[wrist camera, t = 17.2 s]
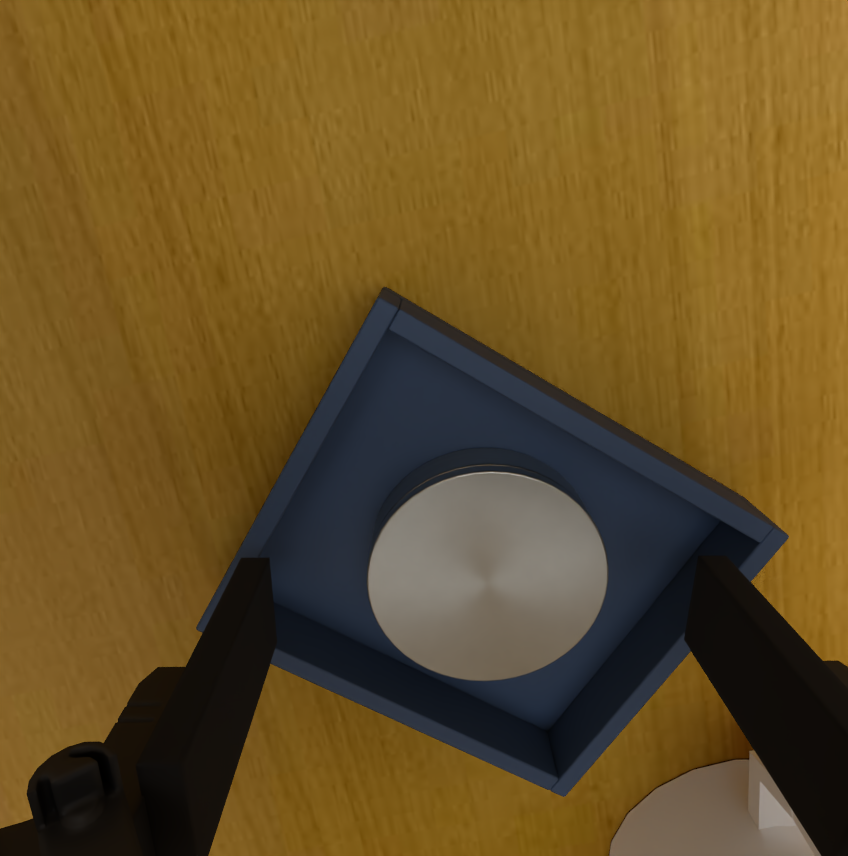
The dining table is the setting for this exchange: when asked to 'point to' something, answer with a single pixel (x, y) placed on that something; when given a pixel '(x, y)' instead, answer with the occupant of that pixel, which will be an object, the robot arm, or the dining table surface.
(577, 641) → the lid
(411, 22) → the dining table surface
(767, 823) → the mug
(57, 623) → the dining table surface
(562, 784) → the tray
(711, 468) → the dining table surface
